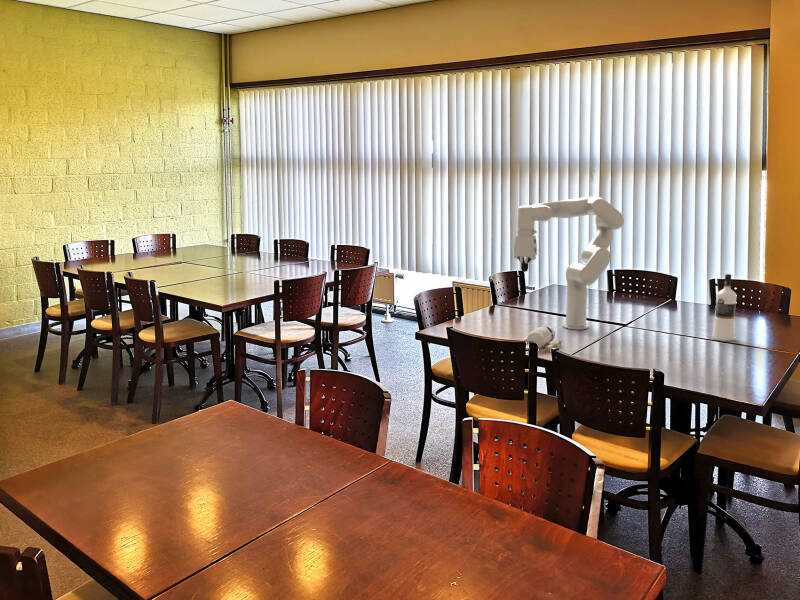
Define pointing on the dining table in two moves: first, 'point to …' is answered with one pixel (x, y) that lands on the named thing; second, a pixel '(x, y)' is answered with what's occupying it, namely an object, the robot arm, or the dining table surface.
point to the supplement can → (541, 335)
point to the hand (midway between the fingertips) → (524, 271)
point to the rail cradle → (547, 346)
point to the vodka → (725, 312)
